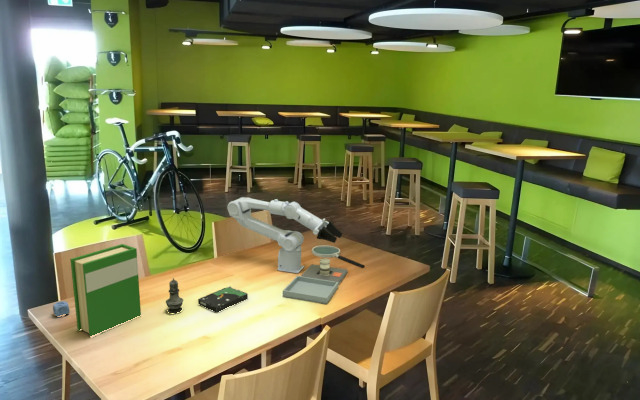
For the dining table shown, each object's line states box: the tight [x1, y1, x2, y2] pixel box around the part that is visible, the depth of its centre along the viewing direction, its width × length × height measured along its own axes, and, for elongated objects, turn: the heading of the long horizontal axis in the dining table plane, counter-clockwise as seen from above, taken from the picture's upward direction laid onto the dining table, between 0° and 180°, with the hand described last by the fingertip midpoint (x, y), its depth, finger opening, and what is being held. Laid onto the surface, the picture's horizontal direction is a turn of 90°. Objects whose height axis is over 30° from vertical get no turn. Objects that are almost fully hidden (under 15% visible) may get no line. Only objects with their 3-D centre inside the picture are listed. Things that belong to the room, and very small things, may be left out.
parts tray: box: [282, 275, 339, 305], centre depth 180 cm, size 17×15×2 cm
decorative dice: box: [52, 300, 70, 316], centre depth 158 cm, size 4×4×4 cm
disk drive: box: [197, 286, 249, 313], centre depth 171 cm, size 10×3×15 cm
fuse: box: [319, 257, 331, 276], centre depth 196 cm, size 4×4×7 cm
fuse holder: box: [300, 263, 349, 286], centre depth 196 cm, size 16×14×2 cm
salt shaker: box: [165, 277, 184, 314], centre depth 162 cm, size 6×6×12 cm
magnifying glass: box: [311, 244, 365, 269], centre depth 217 cm, size 13×31×2 cm, turn 42°
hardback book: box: [70, 243, 142, 337], centre depth 151 cm, size 18×7×24 cm, turn 146°
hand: (338, 238), depth 192 cm, fingers open, 7 cm apart
